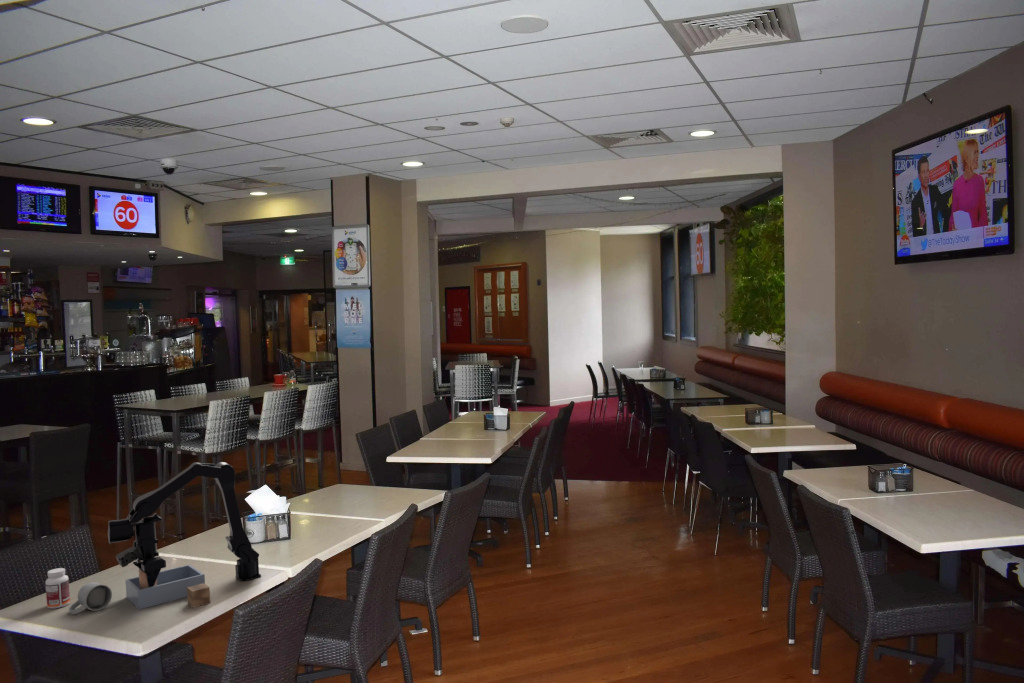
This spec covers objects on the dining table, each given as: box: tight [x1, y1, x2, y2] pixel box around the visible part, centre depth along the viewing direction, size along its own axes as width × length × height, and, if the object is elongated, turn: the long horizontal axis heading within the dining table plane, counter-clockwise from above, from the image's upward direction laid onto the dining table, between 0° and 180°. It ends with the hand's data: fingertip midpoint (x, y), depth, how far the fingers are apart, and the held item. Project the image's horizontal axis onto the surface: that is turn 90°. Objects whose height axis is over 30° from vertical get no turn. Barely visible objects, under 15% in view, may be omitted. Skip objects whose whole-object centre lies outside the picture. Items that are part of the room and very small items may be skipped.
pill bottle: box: [44, 567, 71, 610], centre depth 228 cm, size 6×6×11 cm
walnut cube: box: [187, 583, 211, 609], centre depth 225 cm, size 5×5×5 cm
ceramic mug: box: [68, 581, 113, 615], centre depth 224 cm, size 11×8×8 cm
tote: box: [125, 564, 206, 610], centre depth 234 cm, size 20×15×6 cm
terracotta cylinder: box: [138, 568, 157, 590], centre depth 230 cm, size 5×5×7 cm
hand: (148, 586), depth 230 cm, fingers closed on terracotta cylinder, 5 cm apart
